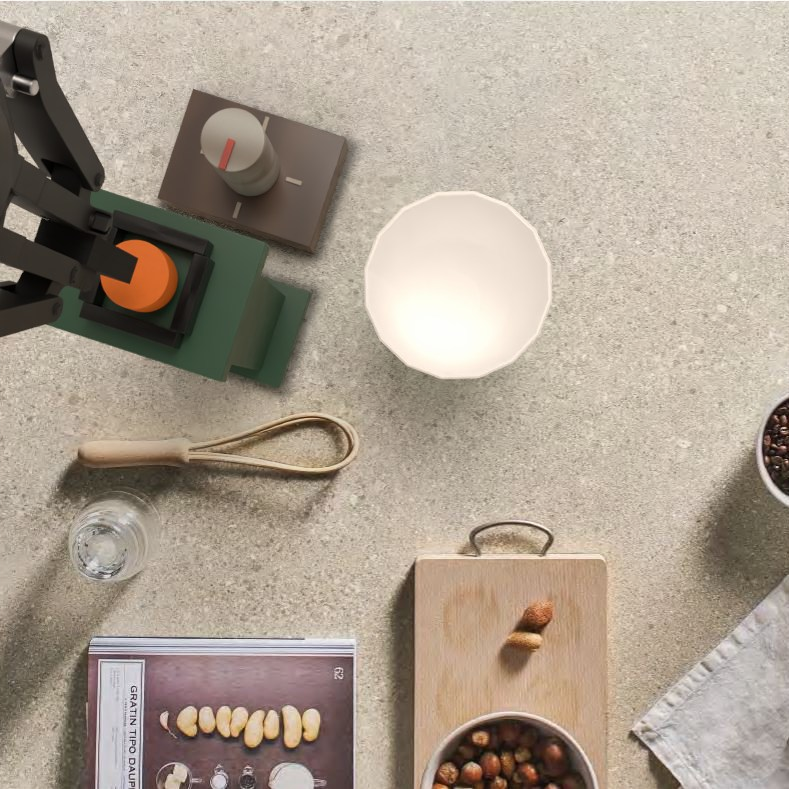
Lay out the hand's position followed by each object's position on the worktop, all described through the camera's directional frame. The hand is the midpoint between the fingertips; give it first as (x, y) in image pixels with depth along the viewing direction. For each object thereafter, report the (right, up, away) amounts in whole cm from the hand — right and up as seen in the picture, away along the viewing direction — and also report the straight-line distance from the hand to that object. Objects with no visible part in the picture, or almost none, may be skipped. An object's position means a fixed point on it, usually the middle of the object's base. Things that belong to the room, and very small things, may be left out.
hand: (110, 263), depth 47 cm
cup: (+20, +1, +31) cm, 37 cm away
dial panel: (+3, +13, +32) cm, 34 cm away
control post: (+1, 0, +31) cm, 31 cm away
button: (0, 0, +5) cm, 5 cm away
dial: (+3, +13, +28) cm, 31 cm away
